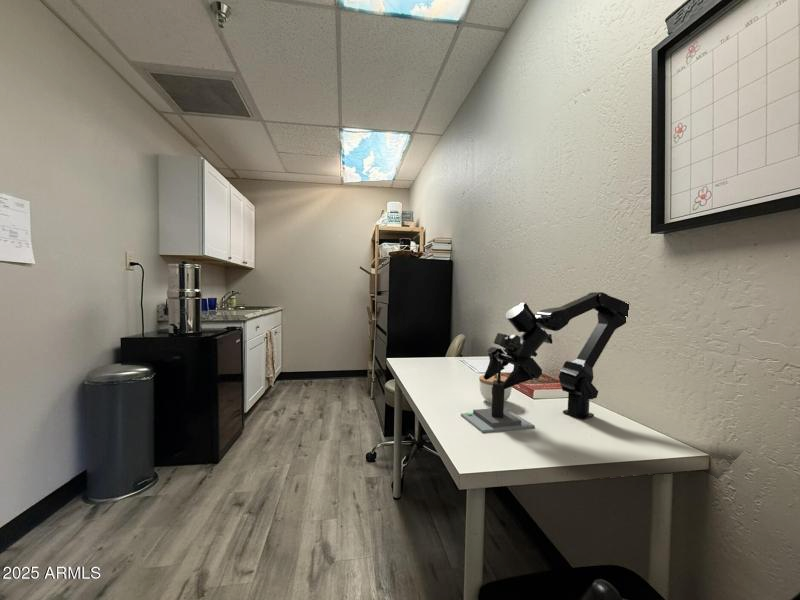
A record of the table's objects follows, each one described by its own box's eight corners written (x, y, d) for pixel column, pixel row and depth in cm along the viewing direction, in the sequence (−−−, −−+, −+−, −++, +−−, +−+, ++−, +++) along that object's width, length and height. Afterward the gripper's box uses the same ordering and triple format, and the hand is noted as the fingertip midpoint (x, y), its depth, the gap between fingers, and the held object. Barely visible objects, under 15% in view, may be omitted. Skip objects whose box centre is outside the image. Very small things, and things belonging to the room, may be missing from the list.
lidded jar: (513, 408, 103) (514, 378, 102) (478, 404, 105) (480, 376, 105) (509, 398, 113) (510, 371, 113) (477, 395, 115) (478, 368, 115)
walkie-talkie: (503, 418, 88) (505, 364, 88) (490, 416, 89) (492, 362, 89) (503, 412, 93) (505, 360, 93) (491, 411, 94) (493, 359, 94)
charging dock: (507, 411, 99) (508, 405, 99) (534, 427, 88) (534, 421, 88) (460, 415, 95) (460, 409, 95) (482, 432, 83) (482, 425, 83)
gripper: (493, 320, 101) (460, 356, 98) (534, 327, 83) (495, 371, 80) (514, 345, 103) (482, 381, 100) (558, 357, 85) (521, 401, 82)
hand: (493, 383), depth 91 cm, fingers open, 9 cm apart
